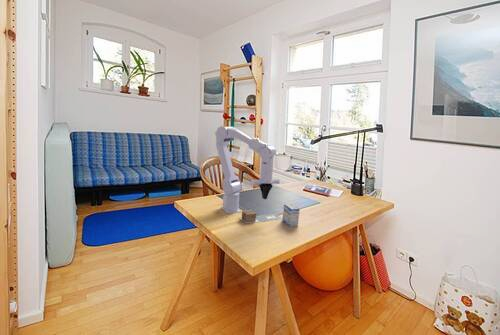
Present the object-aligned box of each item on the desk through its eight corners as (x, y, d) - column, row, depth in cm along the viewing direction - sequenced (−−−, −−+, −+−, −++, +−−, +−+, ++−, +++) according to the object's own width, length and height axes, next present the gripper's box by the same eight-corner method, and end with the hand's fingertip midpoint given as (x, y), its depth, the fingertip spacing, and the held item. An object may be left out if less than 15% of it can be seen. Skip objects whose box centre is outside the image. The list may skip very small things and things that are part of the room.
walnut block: (241, 218, 133) (242, 210, 132) (250, 217, 135) (251, 209, 134) (246, 222, 128) (246, 214, 128) (255, 221, 131) (256, 213, 130)
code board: (237, 218, 133) (237, 218, 133) (274, 214, 143) (274, 213, 143) (244, 224, 126) (244, 224, 126) (282, 219, 136) (282, 219, 136)
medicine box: (282, 221, 134) (283, 204, 132) (290, 220, 136) (291, 203, 134) (289, 227, 127) (291, 209, 125) (298, 226, 128) (299, 208, 127)
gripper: (257, 173, 124) (255, 202, 127) (283, 172, 131) (281, 199, 133) (250, 170, 130) (248, 197, 133) (276, 169, 137) (274, 195, 139)
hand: (264, 198), depth 133 cm, fingers closed
